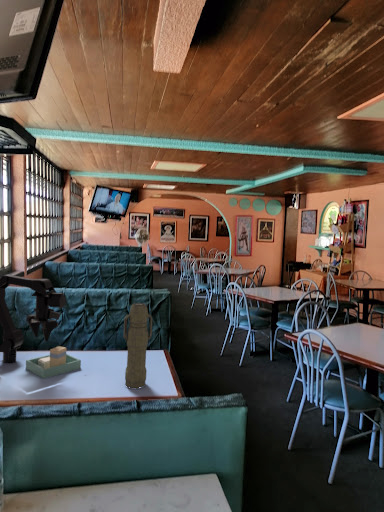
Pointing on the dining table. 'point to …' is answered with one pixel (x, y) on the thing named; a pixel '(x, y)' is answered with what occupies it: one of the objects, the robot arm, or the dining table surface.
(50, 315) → the robot arm
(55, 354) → the oat carton
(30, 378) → the dining table surface
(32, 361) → the tote
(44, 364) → the beige rectangular block
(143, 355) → the thermos
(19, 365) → the dining table surface
